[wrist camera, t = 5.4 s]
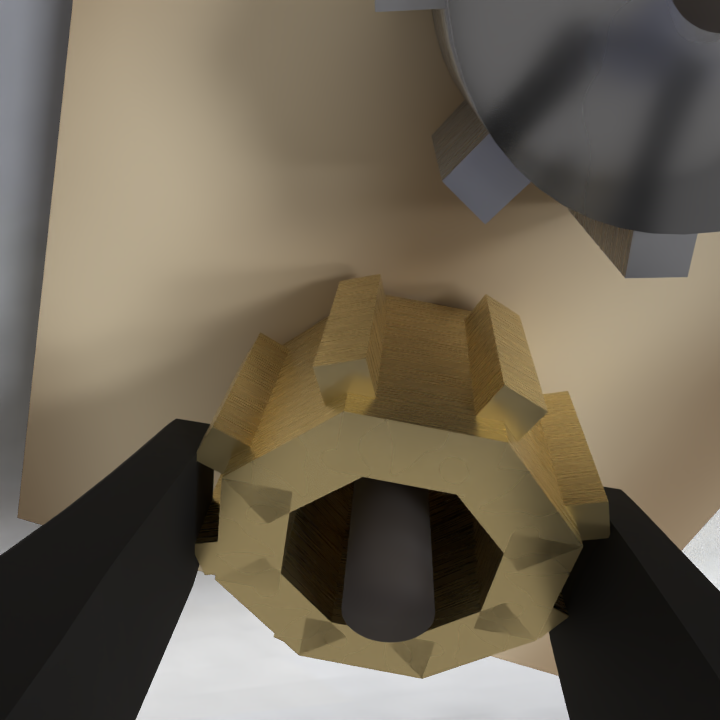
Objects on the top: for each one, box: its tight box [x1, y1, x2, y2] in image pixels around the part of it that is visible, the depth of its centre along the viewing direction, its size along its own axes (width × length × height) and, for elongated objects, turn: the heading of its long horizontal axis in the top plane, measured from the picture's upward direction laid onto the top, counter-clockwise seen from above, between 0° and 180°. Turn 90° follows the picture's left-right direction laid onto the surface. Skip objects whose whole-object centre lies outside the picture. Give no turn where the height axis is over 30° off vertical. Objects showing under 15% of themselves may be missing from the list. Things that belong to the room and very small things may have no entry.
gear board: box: [17, 0, 720, 676], centre depth 8 cm, size 13×18×5 cm
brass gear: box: [195, 274, 610, 679], centre depth 10 cm, size 6×6×3 cm
